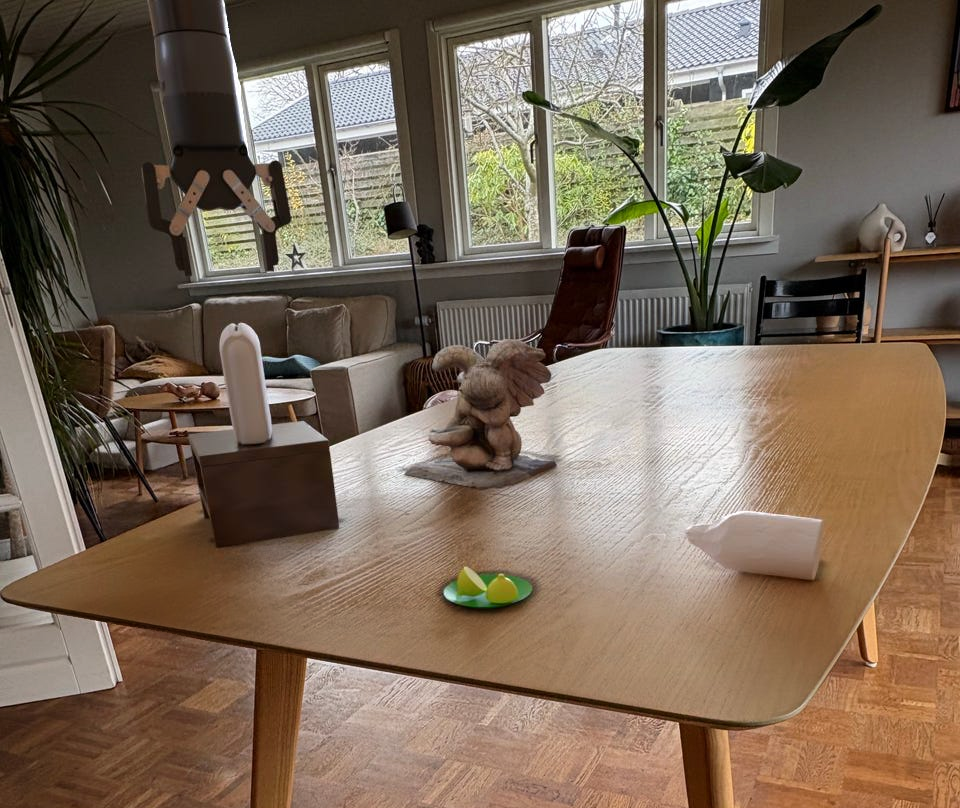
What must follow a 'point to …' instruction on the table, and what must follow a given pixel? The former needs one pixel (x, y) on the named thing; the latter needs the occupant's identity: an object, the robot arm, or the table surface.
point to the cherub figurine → (488, 416)
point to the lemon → (486, 590)
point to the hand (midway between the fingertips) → (229, 274)
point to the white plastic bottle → (762, 543)
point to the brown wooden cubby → (265, 484)
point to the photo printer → (245, 384)
